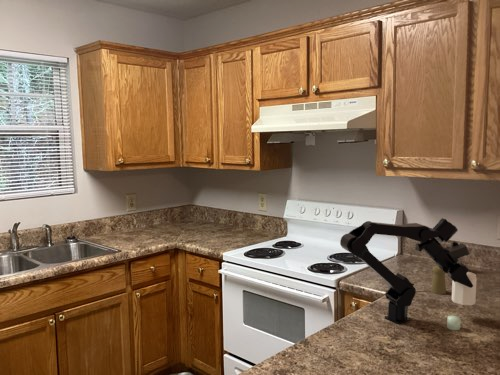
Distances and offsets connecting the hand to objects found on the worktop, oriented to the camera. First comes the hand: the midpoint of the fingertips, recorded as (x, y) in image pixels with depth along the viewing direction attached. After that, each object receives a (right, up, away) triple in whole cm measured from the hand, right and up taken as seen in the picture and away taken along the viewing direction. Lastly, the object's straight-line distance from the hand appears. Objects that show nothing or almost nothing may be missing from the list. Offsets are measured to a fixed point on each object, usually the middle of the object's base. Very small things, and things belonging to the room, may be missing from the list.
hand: (468, 283), depth 156 cm
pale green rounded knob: (-8, -14, -6) cm, 17 cm away
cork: (+2, -10, +30) cm, 31 cm away
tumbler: (-1, -7, +1) cm, 7 cm away
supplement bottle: (+21, -7, +61) cm, 65 cm away
